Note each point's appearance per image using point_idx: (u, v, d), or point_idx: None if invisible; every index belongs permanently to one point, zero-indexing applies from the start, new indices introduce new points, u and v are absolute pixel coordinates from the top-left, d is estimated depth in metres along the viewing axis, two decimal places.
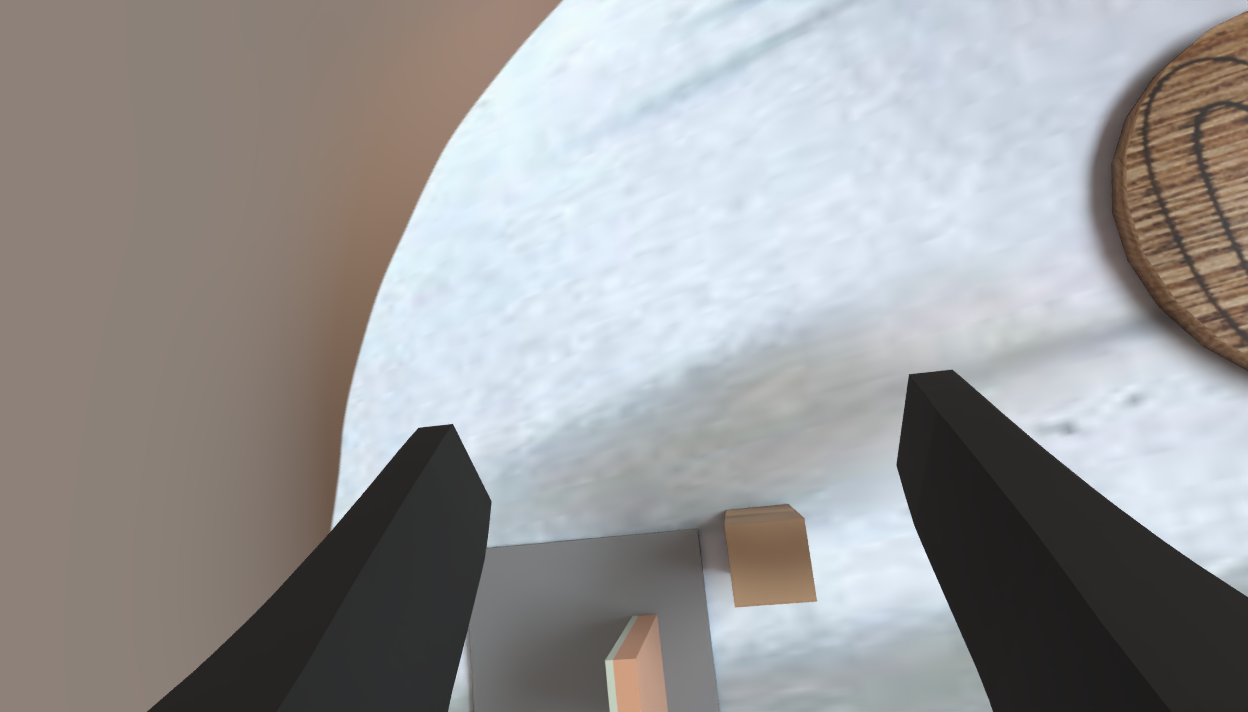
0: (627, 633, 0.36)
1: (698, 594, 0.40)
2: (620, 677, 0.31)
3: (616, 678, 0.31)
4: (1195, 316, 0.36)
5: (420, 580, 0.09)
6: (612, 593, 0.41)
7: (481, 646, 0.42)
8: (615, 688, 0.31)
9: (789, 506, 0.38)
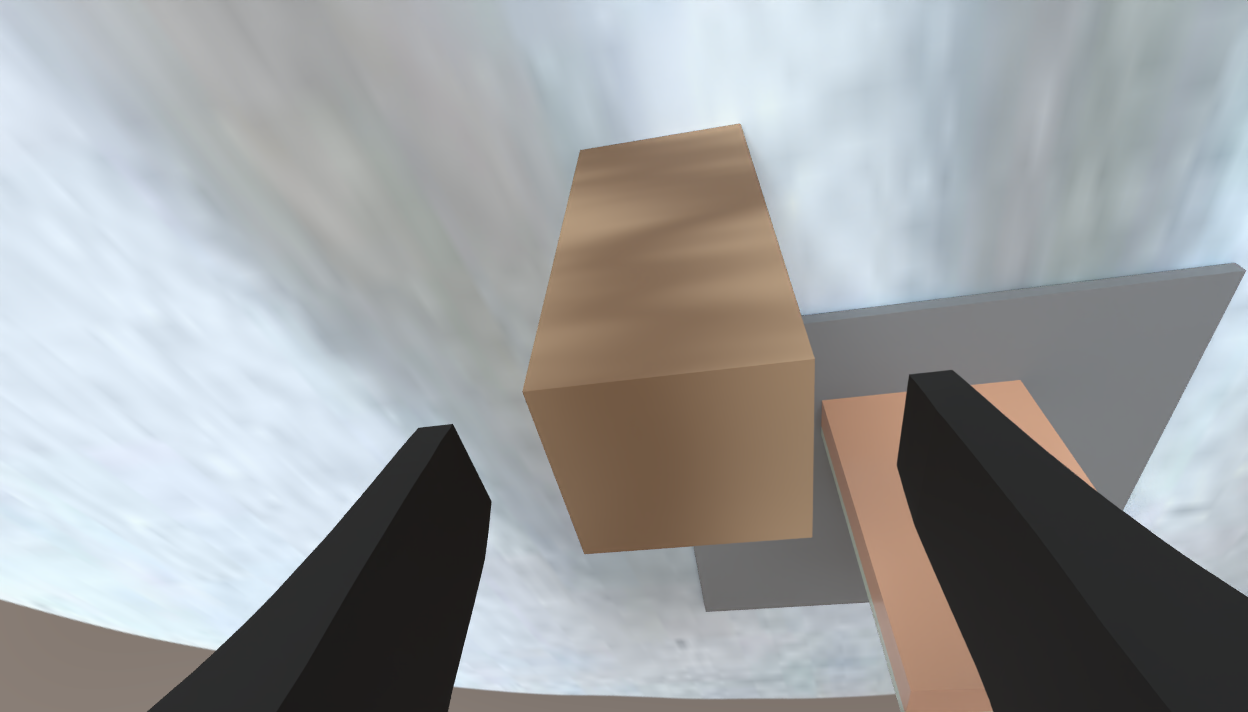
0: (851, 532, 0.18)
1: None
2: (946, 707, 0.14)
3: (947, 711, 0.14)
4: None
5: (420, 580, 0.09)
6: None
7: (846, 594, 0.27)
8: None
9: None
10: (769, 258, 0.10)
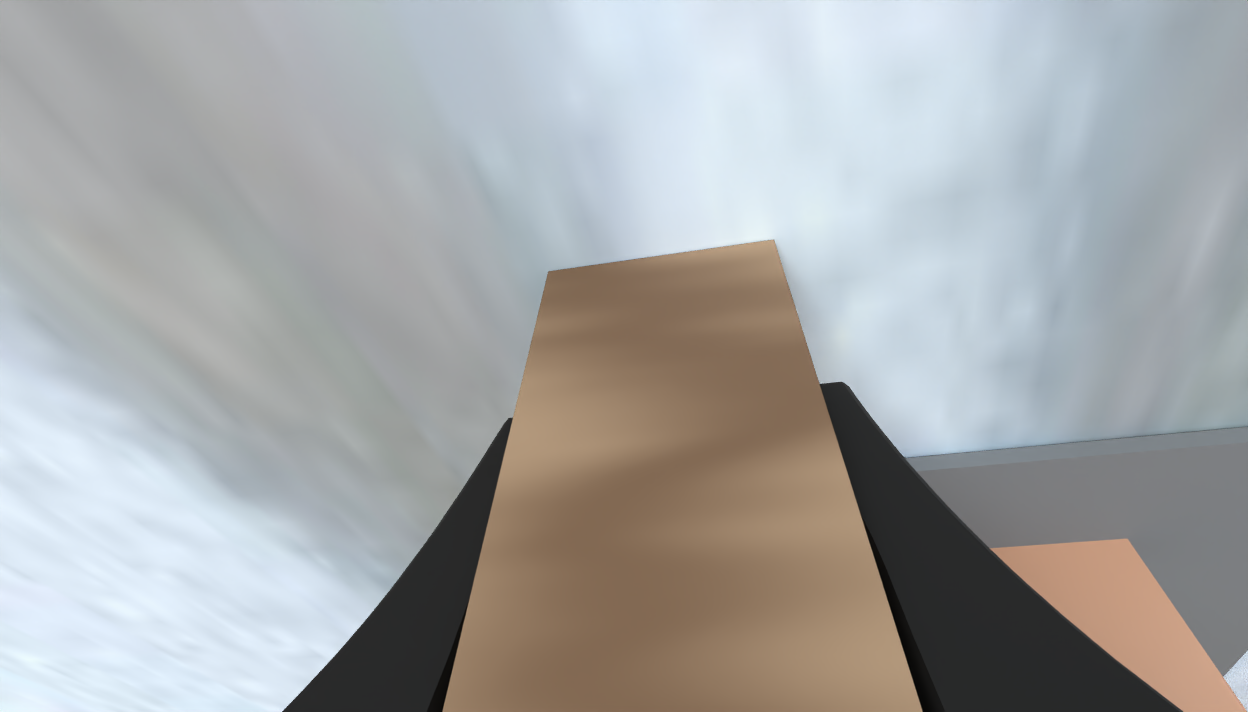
0: None
1: None
2: None
3: None
4: None
5: None
6: None
7: None
8: None
9: (535, 333, 0.10)
10: (856, 576, 0.06)
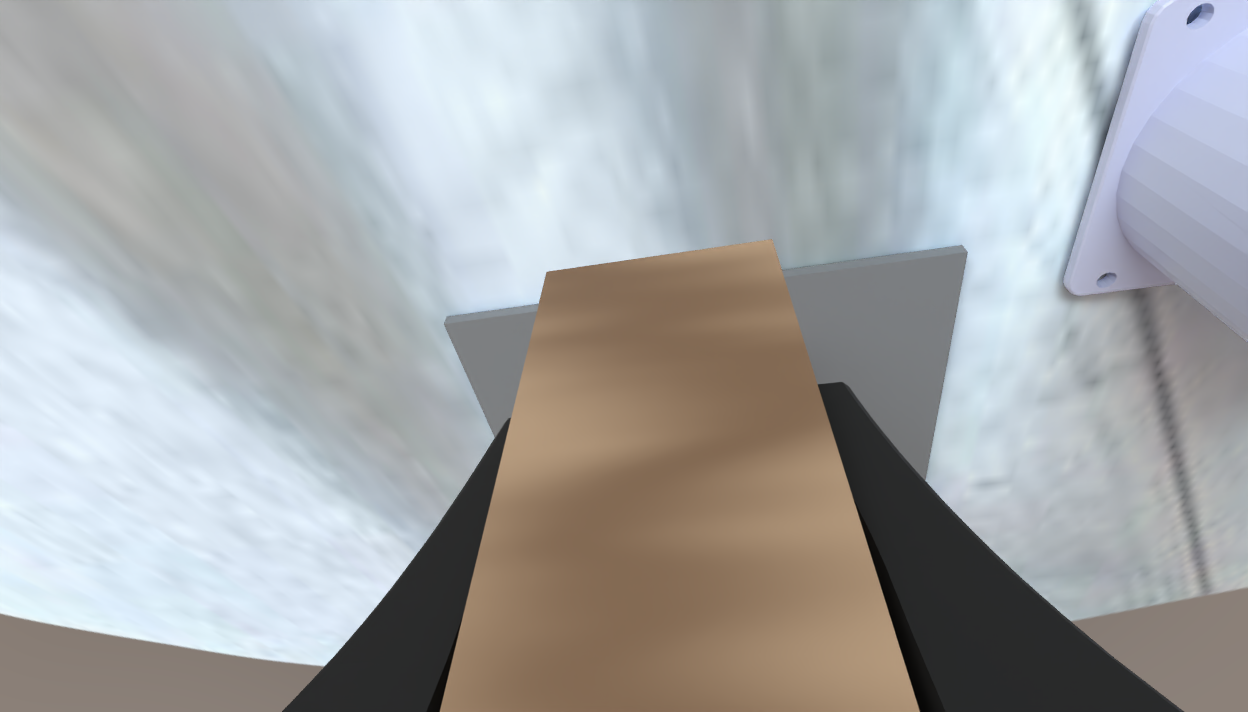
0: None
1: None
2: None
3: None
4: None
5: None
6: None
7: None
8: None
9: (534, 334, 0.10)
10: (853, 576, 0.06)
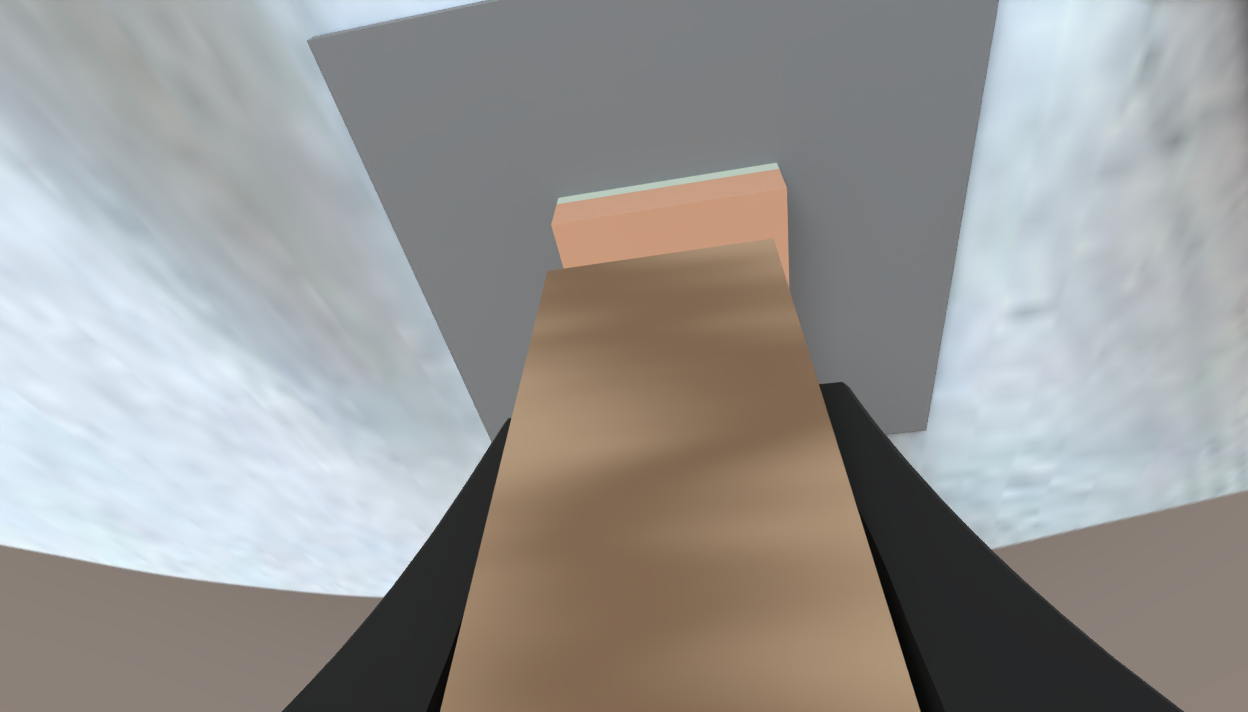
0: None
1: (469, 27, 0.15)
2: None
3: None
4: None
5: None
6: (518, 237, 0.18)
7: None
8: None
9: (534, 333, 0.10)
10: (854, 577, 0.06)
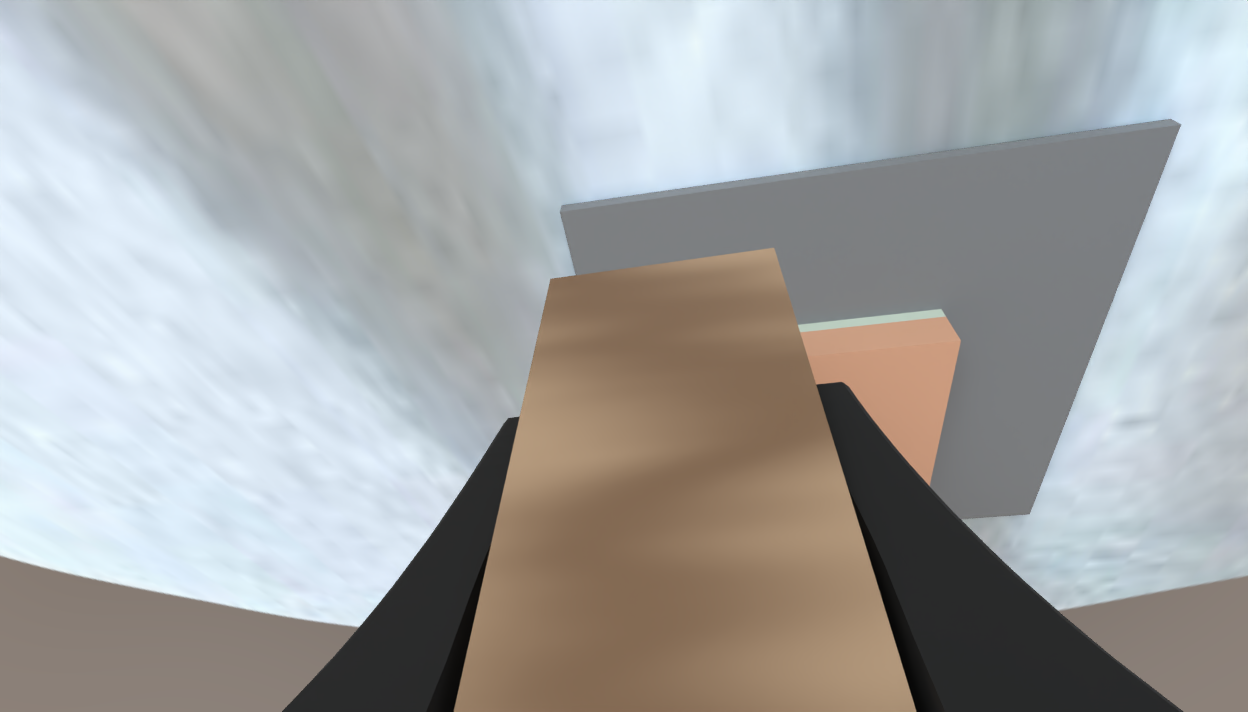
0: None
1: (701, 205, 0.17)
2: None
3: None
4: None
5: None
6: None
7: None
8: None
9: (538, 342, 0.10)
10: (855, 588, 0.06)
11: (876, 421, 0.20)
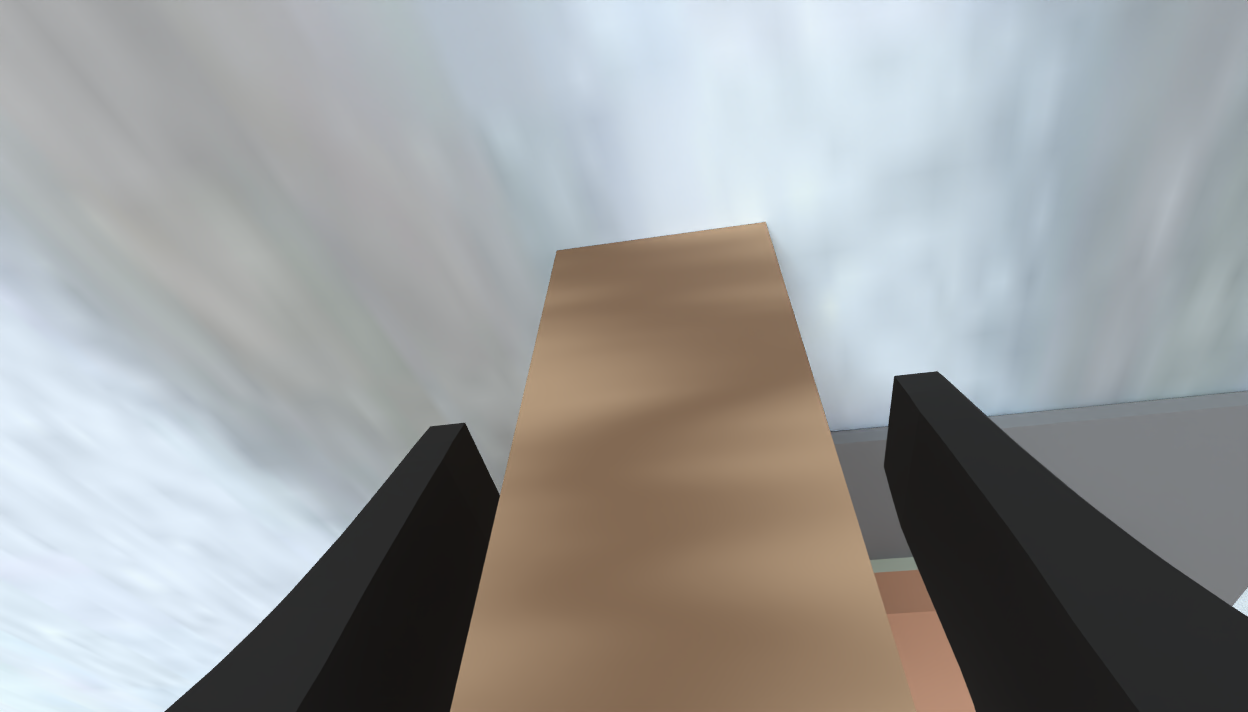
0: None
1: None
2: None
3: None
4: None
5: (434, 578, 0.09)
6: None
7: None
8: None
9: (546, 305, 0.11)
10: (830, 500, 0.07)
11: None
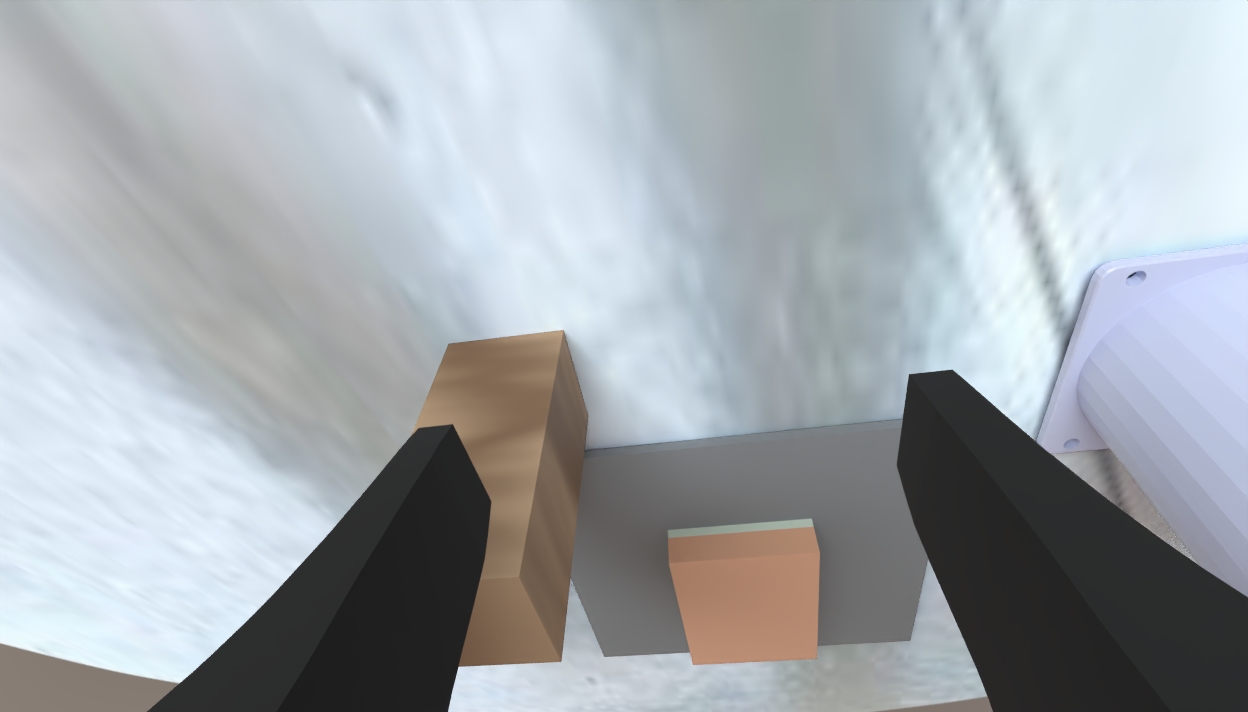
0: None
1: (625, 462, 0.24)
2: None
3: None
4: None
5: (420, 579, 0.09)
6: (637, 546, 0.27)
7: None
8: None
9: (435, 379, 0.20)
10: (528, 482, 0.16)
11: (768, 596, 0.27)
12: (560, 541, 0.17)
